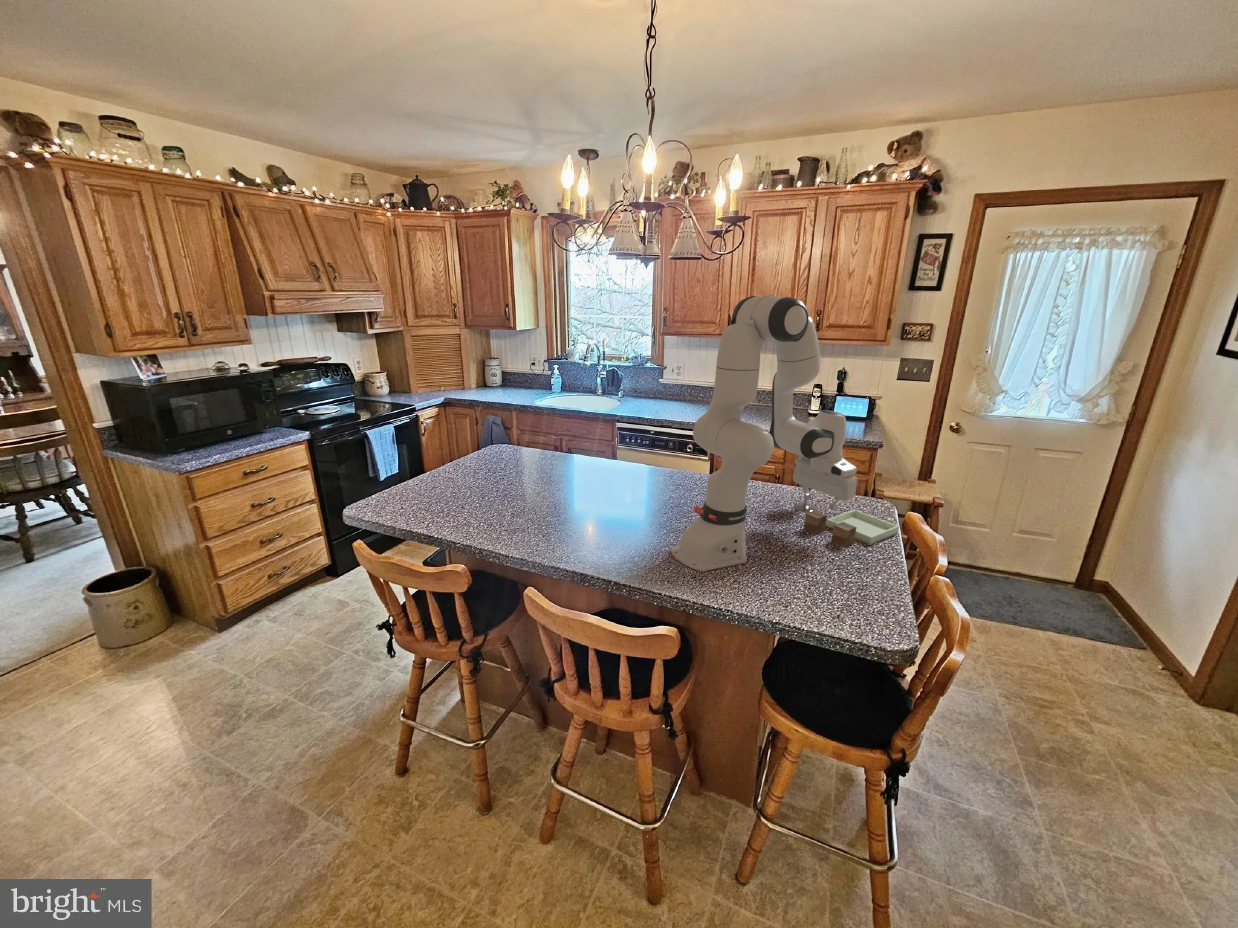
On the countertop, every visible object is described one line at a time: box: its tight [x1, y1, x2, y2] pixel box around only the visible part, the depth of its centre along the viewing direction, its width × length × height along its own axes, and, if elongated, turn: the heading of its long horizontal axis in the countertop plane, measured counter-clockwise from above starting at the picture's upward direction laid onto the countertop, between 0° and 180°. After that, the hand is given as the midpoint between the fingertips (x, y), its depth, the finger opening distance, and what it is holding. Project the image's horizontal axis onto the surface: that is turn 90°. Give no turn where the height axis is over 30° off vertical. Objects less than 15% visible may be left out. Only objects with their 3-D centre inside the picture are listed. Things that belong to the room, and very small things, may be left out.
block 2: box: [830, 522, 857, 548], centre depth 150 cm, size 4×4×6 cm
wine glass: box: [793, 484, 816, 513], centre depth 173 cm, size 8×8×15 cm
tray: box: [825, 509, 900, 546], centre depth 159 cm, size 15×15×2 cm
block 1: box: [803, 509, 828, 535], centre depth 158 cm, size 4×4×6 cm
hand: (820, 503), depth 157 cm, fingers open, 8 cm apart
